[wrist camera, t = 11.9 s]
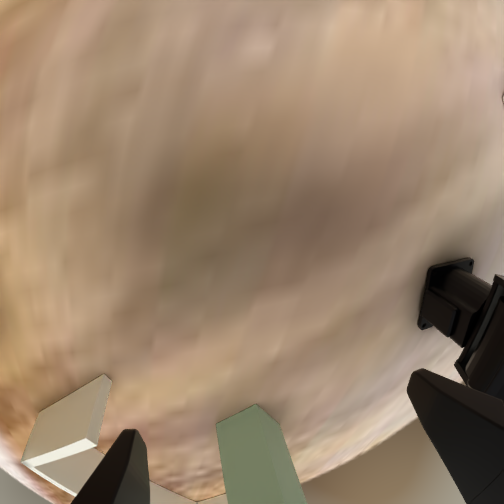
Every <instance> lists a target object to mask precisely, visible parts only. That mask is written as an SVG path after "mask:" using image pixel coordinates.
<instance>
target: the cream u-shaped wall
mask: <svg viewBox="0 0 504 504" xmlns="http://www.w3.org/2000/svg"><path fill="white" fill-rule="evenodd" d="M111 384H112V381H111V380H110V379H109V378H108V377H107V376H106V375H105V374H103V375H101V376H99V377H98V378H96V379H95V380H93V381H91V382H90V383H88V384H86V385H85V386H83V387H81V388H79V389H78V390H76V391H74V392H73V393H71V394H69V395H68V396H66V397H64V398H63V399H61V400H59V401H58V402H56V403H54V404H52V405H51V406H49V407H47V408H46V409H44V410H42V411H40V412H39V414H38V417H37V419H36V422H35V424H34V427H33V429H32V432H31V434H30V437H29V440H28V442H27V445H26V448H25V451H24V453H23V456H22V459H21V463H23V464H24V465H25V466H27V467H28V468H30V469H31V470H32V471H34V472H35V473H37V474H38V475H40V476H41V477H43V478H45V479H46V480H48V481H49V482H51V483H53V484H54V485H56V486H57V487H59V488H61V489H63V490H64V491H66V492H68V493H70V494H71V495H73V496H75V497H76V495H77V494H78V493H79V491H80V490H81V488H82V487H83V485H84V484H85V483H86V481H87V480H88V478H89V477H90V476H91V474H92V473H93V471H94V470H95V469H96V467H97V466H98V464H99V463H100V462H101V460H102V459H103V457H104V456H105V455H104V454H103V453H101V452H100V451H98V450H97V449H95V448H94V447H95V446H97V444H98V439H99V435H100V430H101V425H102V421H103V417H104V412H105V408H106V404H107V400H108V396H109V392H110V388H111ZM149 482H150V504H228V501H227V496H226V494H223V495H220V496H216V497H213V498H210V499H206V500H203V501H199V502H195V501H192V500H190V499H188V498H185V497H183V496H181V495H179V494H176V493H174V492H172V491H170V490H168V489H166V488H163V487H161V486H159V485H157V484H155V483H153V482H151V481H149Z"/></svg>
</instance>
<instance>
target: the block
mask: <svg viewBox="0 0 504 504" xmlns="http://www.w3.org/2000/svg"><path fill="white" fill-rule="evenodd" d="M216 429H217V436H218V444H219V451H220V458H221V464H222V471H223V477H224V483H225V490H226V496H227V501H228V504H307V502H306V499H305V496H304V493H303V491H302V488H301V485H300V482H299V479H298V476H297V474H296V471H295V468H294V465H293V462H292V459H291V456H290V454H289V451H288V448H287V445H286V442H285V439H284V436H283V433H282V430H281V427H280V424H278V423H277V422H276V421H275V420H274V419H273V418H271V417H270V416H269V415H268V414H267V413H266V412H265V411H263V410H262V409H261V408H260V407H259V406H258V405H257V404H255V405H253V406H251V407H249V408H247V409H245V410H243V411H241V412H239V413H237V414H235V415H233V416H231V417H229V418H227V419H225V420H223V421H221V422H219V423H217V424H216Z"/></svg>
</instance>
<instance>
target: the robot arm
mask: <svg viewBox="0 0 504 504" xmlns="http://www.w3.org/2000/svg"><path fill="white" fill-rule="evenodd" d="M473 264H474V260H473V259H471V258H466V259H462V260H457V261H453V262H449V263H445V264H440V265H436V266H432V267H431V268H430V269H429V271H428V276H427V282H426V288H425V293H424V299H423V304H422V309H421V314H420V318H419V323H418V327H419V328H420V329H421V330H424V329H427V328H430V327H432V326H434V327H435V328H437V329H438V330H439V331H440V332H441V333H442V334H444V335H445V336H446V337H450V338H451V339H452V340H453V341H454V342H456V343H457V344H458V345H459V346H460V347H461V348H463V347H464V349H463V351H462V353H461V355H460V357H459V358H458V359H457V360H456V362H455V364H454V366H455V368H456V369H457V371H458V373H459V374H460V376H461V377H462V379H463V381H464V382H465V384H466V386H464V385H462V384H460V383H457V382H455V381H453V380H450V379H448V378H445V377H443V376H440V375H438V374H436V373H433V372H431V371H428V370H426V369H423V368H422V369H419V370H416V371H414V372H413V373H412V374H411V377H410V380H409V383H408V386H407V394H408V396H409V398H410V400H411V403H412V405H413V407H414V409H415V411H416V413H417V416H418V418H419V420H420V422H421V424H422V426H423V428H424V430H425V431H426V433H427V435H428V436H429V438H430V440H431V442H432V443H433V445H434V447H435V448H436V450H437V452H438V453H439V455H440V457H441V459H442V460H443V462H444V464H445V466H446V467H447V469H448V471H449V473H450V474H451V476H452V478H453V480H454V481H455V484H456V485H457V487H458V489H459V491H460V493H461V494H462V496H463V498H464V500H465V502H466V504H504V276H501V275H497V274H495V276H494V279H493V281H494V282H493V285H490V284H488V283H487V282H485V281H483V280H482V279H480V278H478V277H476V276H475V275H473V274H472V269H473ZM71 504H150V482H149V472H148V460H147V448H146V445H145V442H144V441H143V439H142V437H141V435H140V434H139V432H138V430H136V429H124V430H123V431H122V432H121V434H120V435H119V436H118V438H117V439H116V441H115V442H114V443H113V445H112V446H111V448H110V449H109V450H108V452H107V453H106V455H105V456H104V457H103V459H102V460H101V462H100V463H99V464H98V466H97V467H96V469H95V470H94V471H93V473H92V474H91V476H90V477H89V478H88V480H87V481H86V483H85V484H84V485H83V487H82V488H81V490H80V491H79V493H78V494H77V495H76V497H75V498H74V500H73V501H72V502H71Z"/></svg>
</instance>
